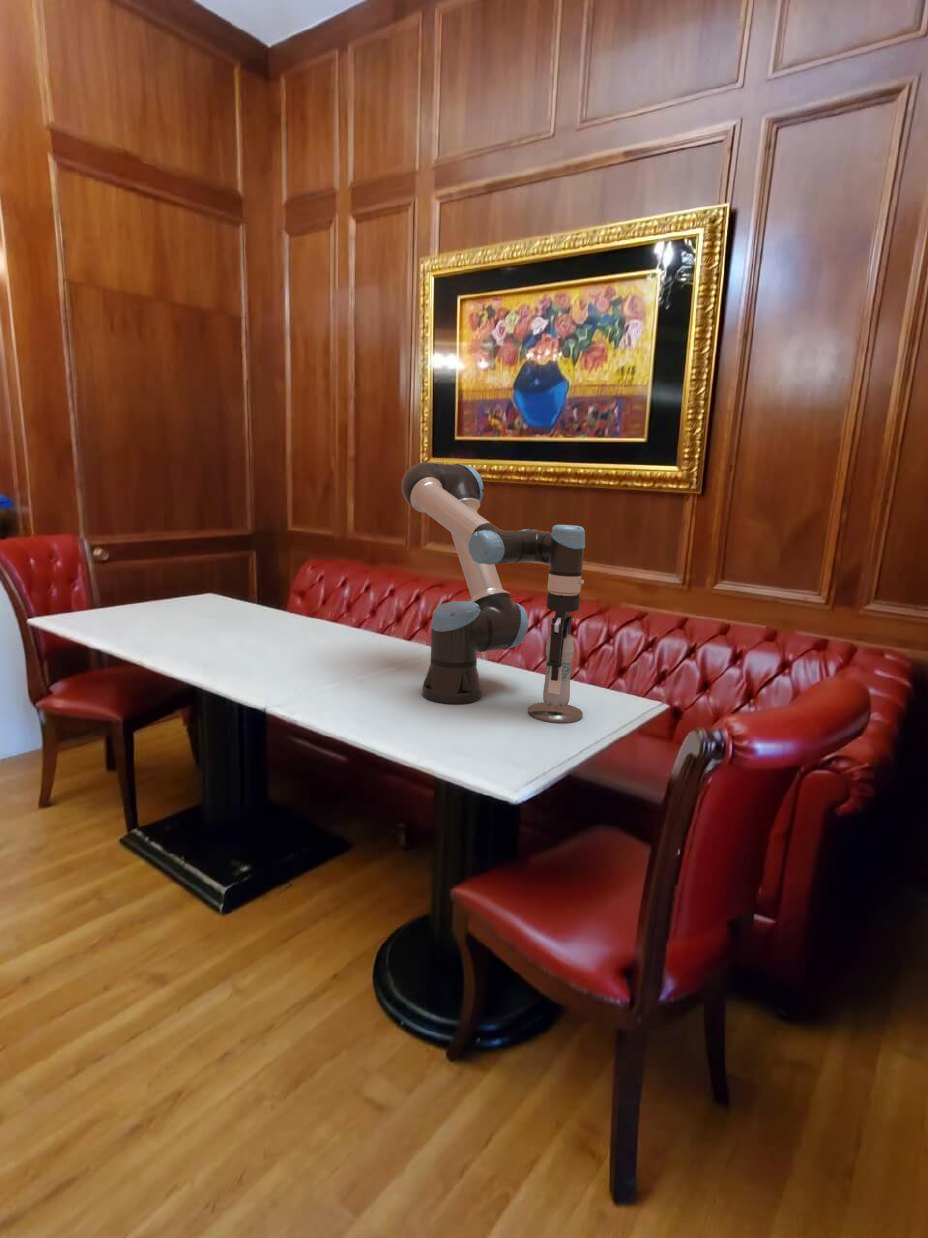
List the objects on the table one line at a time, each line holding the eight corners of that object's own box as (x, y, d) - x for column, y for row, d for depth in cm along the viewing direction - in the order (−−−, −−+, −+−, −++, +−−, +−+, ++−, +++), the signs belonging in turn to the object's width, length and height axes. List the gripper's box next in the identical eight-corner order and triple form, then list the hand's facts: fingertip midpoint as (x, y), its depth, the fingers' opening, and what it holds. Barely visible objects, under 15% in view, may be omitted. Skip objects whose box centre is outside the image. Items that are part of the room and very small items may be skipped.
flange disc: (522, 718, 163) (522, 715, 162) (534, 702, 175) (534, 699, 175) (577, 726, 159) (578, 723, 159) (586, 709, 171) (586, 706, 171)
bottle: (570, 702, 169) (577, 621, 165) (569, 710, 162) (575, 626, 159) (542, 699, 170) (548, 618, 166) (540, 707, 164) (546, 624, 160)
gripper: (573, 600, 151) (565, 702, 156) (586, 588, 169) (578, 681, 173) (539, 597, 153) (532, 698, 158) (555, 586, 171) (548, 677, 176)
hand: (556, 689), depth 166 cm, fingers closed on bottle, 6 cm apart
